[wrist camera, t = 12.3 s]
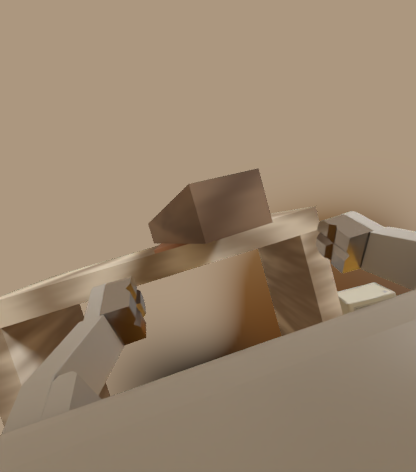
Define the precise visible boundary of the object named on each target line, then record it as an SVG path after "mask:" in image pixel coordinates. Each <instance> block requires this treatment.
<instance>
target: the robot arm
mask: <svg viewBox="0 0 416 472" xmlns="http://www.w3.org/2000/svg"><path fill="white" fill-rule="evenodd" d="M317 230H318V231H319V232H320V233H319V235H318V236H317V238H316V246H317V250H318V251H319V253H320V254H321V255H322V256H323V257H324V258H327V259H330V260H331V264H332V265H333V266H334V267H335V268H337V269H338V270H339V271H340V272H341V273H346V272H349V271H352V270H356V269H359V268H361V269H362V270H365V271H367V272H370V273H372V274H375V275H377V276H379V277H382V278H384V279H387V280H389V281H392V282H395V283H397V284H399V285H402V286H404V287H407V288H409V289H412V291H409V292H407V293H404V294H401V295H398V296H395V297H392V298H389V299H387V300H384V301H381V302H378V303H375V304H372V305H370V306H367V307H364V308H361V309H358V310H355V311H353V312H350V313H347V314H344V315H341V316H338V317H336V318H333V319H330V320H327V321H324V322H321V323H318V324H316V325H313V326H310V327H307V328H304V329H301V330H298V331H296V332H293V333H290V334H287V335H284V336H282V337H278V338H276V339H273V340H270V341H267V342H264V343H261V344H258V345H255V346H253V347H250V348H247V349H244V350H241V351H238V352H236V353H233V354H230V355H227V356H224V357H221V358H218V359H216V360H213V361H210V362H207V363H204V364H201V365H199V366H196V367H193V368H190V369H187V370H184V371H181V372H178V373H176V374H173V375H170V376H167V377H164V378H161V379H159V380H156V381H153V382H150V383H147V384H144V385H141V386H138V387H136V388H133V389H130V390H127V391H124V392H121V393H119V394H116V395H113V396H110V397H107V398H104V399H101V398H100V397H99V394H100V392H101V390H102V388H103V386H104V384H105V382H106V380H107V379H108V377H109V375H110V373H111V371H112V369H113V367H114V365H115V363H116V361H117V360H118V358H119V356H120V354H121V352H122V350H123V348H124V345H127V344H130V343H132V342H135V341H138V340H141V339H144V338H146V322H145V320H144V318H143V317H144V316H145V314H146V311H145V303H144V299H143V296H142V294H141V292H140V291H139V290H137V283H136V281H135V279H134V277H132V276H131V277H128V278H124V279H120V280H117V281H113V282H109V283H107V284H102V285H99V286H95V287H93V288H92V289H91V293H90V297H89V300H88V304H87V309H86V312H85V316H84V320H83V321H81V322H79V323H78V324H77V325H76V326H75V327H74V328H73V330H72V331H71V332H70V333H69V334H68V335H67V336H66V337H65V338H64V340H63V341H62V342H61V343H60V344H59V345H58V346H57V347H56V348H55V349H54V351H53V352H52V353H51V354H50V355H49V356H48V357H47V358H46V359H45V361H44V362H43V363H42V364H41V365H40V366H39V367H38V368H37V369H36V371H35V372H34V373H33V374H32V375H31V376H30V377H29V378H28V379H27V381H26V382H25V383H24V384H23V385H22V386H21V388H20V390H19V393H18V395H17V397H16V400H15V402H14V405H13V407H12V410H11V412H10V414H9V417H8V419H7V422H6V424H5V427H4V429H3V432H2V434H1V435H0V472H416V231H410V230H404V229H399V228H393V227H386V228H385V227H383V226H381V225H379V224H377V223H376V222H374V221H372V220H370V219H368V218H366V217H364V216H363V215H361V214H359V213H357V212H353V211H351V212H347V213H344V214H341V215H339V216H336V217H333V218H329V219H326V220H322V221H320V222H319V224H318V227H317Z"/></svg>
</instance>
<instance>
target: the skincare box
mask: <svg viewBox="0 0 416 472" xmlns="http://www.w3.org/2000/svg"><path fill="white" fill-rule="evenodd" d="M337 293H338V297H339V301H340V305H341V309H342V313H343V315H344V314H347V313H350V312H353V311H355V310H358V309H361V308H364V307H367V306H370V305H372V304H375V303H378V302H381V301H384V300H387V299H389V298H392V297H395V296H396V294H395V292H393V291H392V290H389V289H387V288H385V287H383V286H381V285H378V284H377V283H370V284H367V285H363V286H359V287H354V288H351V289H347V290H343V291H339V292H337Z"/></svg>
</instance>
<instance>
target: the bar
mask: <svg viewBox="0 0 416 472" xmlns="http://www.w3.org/2000/svg"><path fill="white" fill-rule="evenodd" d="M269 223H272V218H271V214H270V210H269V207H268V203H267V199H266V195H265V192H264V188H263V184H262V180H261V177H260V173H259V169H254V170H249V171H245V172H241V173H236V174H232V175H227V176H223V177H218V178H214V179H209V180H205V181H201V182H196V183H192V184H189V185H187V186H186V187H185V188H184V189H183V190H182V191H181V192H180V193H179V194H178V195H177V196H176V197H175V198H174V199H173V200H172V201H171V202H170V203H169V204H168V205H167V206H166V207H165V208H164V209H163V210H162V211H161V212H160V213H159V214H158V215H157V216H156V217H155V218H154V219H153V220H152V221H151V222H150V223H149V228H150V231H151V234H152V238H153V241H154V243H170V244H207V243H210V242H213V241H217V240H220V239H223V238H226V237H229V236H232V235H235V234H238V233H241V232H245V231H248V230H251V229H254V228H257V227H260V226H263V225H266V224H269Z"/></svg>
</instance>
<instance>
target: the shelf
mask: <svg viewBox="0 0 416 472" xmlns="http://www.w3.org/2000/svg"><path fill="white" fill-rule="evenodd" d="M271 218H272V223H269V224H266V225H263V226H260V227H257V228H254V229H251V230H248V231H245V232H241V233H238V234H235V235H232V236H229V237H226V238H223V239H220V240H217V241H213V242H210V243H207V244H170V243H161V244H160V245H159V246H155V247H152V248H149V249H145V250H142V251H139V252H135V253H132V254H128V255H125V256H121V257H118V258H114V259H111V260H108V261H104V262H101V263H97V264H94V265H90V266H87V267H84V268H80V269H77V270H73V271H70V272H66V273H63V274H60V275H56V276H53V277H50V278H48V279H45V280H42V281H40V282H37V283H34V284H32V285H29V286H26V287H24V288H22V289H19V290H16V291H14V292H11V293H8V294H5V295H3V296H0V416H1V419H2V422H3V425H4V427H5V424H6V422H7V419H8V417H9V414H10V412H11V410H12V407H13V405H14V402H15V400H16V397H17V395H18V393H19V390H20V388H21V386H22V385H23V384H24V383H25V382H26V381H27V379H28V378H29V377H30V376H31V375H32V374H33V373H34V372H35V371H36V369H37V368H38V367H39V366H40V365H41V364H42V363H43V362H44V361H45V359H46V358H47V357H48V356H49V355H50V354H51V353H52V352H53V351H54V349H55V348H56V347H57V346H58V345H59V344H60V343H61V342H62V341H63V340H64V338H65V337H66V336H67V335H68V334H69V333H70V332H71V331H72V330H73V328H74V327H75V326H76V325H77V324H78V323H79V322H81V321H83V320H84V316H83V313H82V310H81V307H80V303H84V302H87V301H88V300H89V297H90V293H91V289H92V288H93V287H95V286H99V285H102V284H107V283H109V282H113V281H117V280H120V279H124V278H128V277H131V276H132V277H134V279H135V281H136V283H137V286H138V285H141V284H145V283H148V282H151V281H154V280H157V279H161V278H164V277H167V276H170V275H174V274H177V273H180V272H183V271H186V270H190V269H193V268H196V267H200V266H203V265H206V264H209V263H213V262H216V261H219V260H222V259H225V258H228V257H232V256H235V255H238V254H241V253H245V252H248V251H251V250H254V249H258V250H259V254H260V258H261V262H262V265H263V268H264V273H265V276H266V280H267V284H268V287H269V291H270V295H271V298H272V302H273V306H274V309H275V313H276V317H277V320H278V324H279V327H280V331H281V335H282V336H284V335H287V334H290V333H293V332H296V331H298V330H301V329H304V328H307V327H310V326H313V325H316V324H318V323H321V322H324V321H327V320H330V319H333V318H336V317H338V316H341V315H343V313H342V309H341V305H340V301H339V297H338V293H337V289H336V285H335V281H334V278H333V273H332V270H331V266H330V262H329V259H327V258H324V257H323V256H322V255H321V254H320V253H319V251H318V250H317V246H316V238H317V236H318V235H319V233H320V232H319V231H318V230H317V227H318V224H319V218H318V214H317V210H316V207H308V208H302V209H296V210H290V211H284V212H279V213H272V214H271ZM99 397H100V398H101V399H104V398H107V397H110V394H109V391H108V388H107V385H106V382H105V384H104V386H103V388H102V390H101V392H100V394H99Z"/></svg>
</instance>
